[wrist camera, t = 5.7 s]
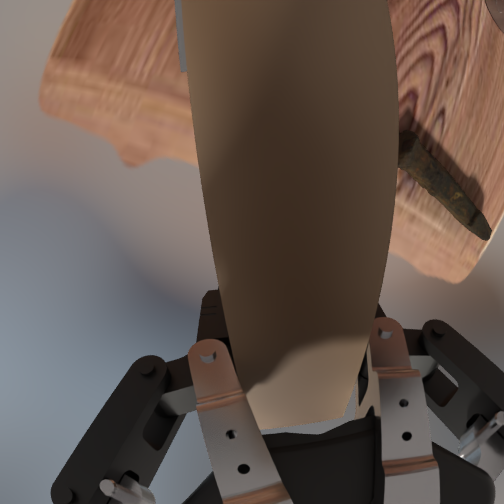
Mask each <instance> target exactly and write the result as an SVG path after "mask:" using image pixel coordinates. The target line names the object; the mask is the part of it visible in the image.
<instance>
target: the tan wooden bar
mask: <svg viewBox="0 0 504 504" xmlns="http://www.w3.org/2000/svg"><path fill="white" fill-rule="evenodd" d="M181 5H182V19H183V32H184V44H185V55H186V65H187V75H188V84H189V93H190V102H191V111H192V119H193V127H194V135H195V142H196V150H197V157H198V164H199V171H200V178H201V184H202V191H203V197H204V204H205V210H206V216H207V222H208V228H209V234H210V240H211V246H212V252H213V257H214V263H215V268H216V274H217V279H218V284H219V290H220V295H221V300H222V305H223V310H224V315H225V320H226V325H227V330H228V335H229V340H230V344H231V349H232V354H233V358H234V363H235V367H236V372H237V376H238V380H239V383H240V385H241V388H242V390H243V392H244V393H245V395H246V397H247V399H248V402H249V405H250V407H251V410H252V412H253V415H254V417H255V420H256V422H257V425H258V427H259V430H261V429H271V428H279V427H289V426H296V425H303V424H309V423H315V422H321V421H326V420H331V419H336V418H341V417H343V415H344V413H345V410H346V407H347V405H348V402H349V399H350V396H351V393H352V391H353V388H354V385H355V382H356V380H357V377H358V374H359V370H360V367H361V364H362V361H363V358H364V354H365V351H366V348H367V344H368V341H369V337H370V333H371V330H372V326H373V322H374V318H375V314H376V310H377V306H378V301H379V297H380V292H381V287H382V283H383V277H384V272H385V267H386V262H387V256H388V250H389V244H390V237H391V230H392V222H393V214H394V205H395V195H396V184H397V169H398V147H399V102H398V81H397V68H396V57H395V48H394V40H393V32H392V26H391V20H390V14H389V8H388V3H387V0H181Z"/></svg>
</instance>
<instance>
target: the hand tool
mask: <svg viewBox="0 0 504 504" xmlns="http://www.w3.org/2000/svg"><path fill="white" fill-rule="evenodd" d="M398 168H400V169H401V170H405V171H407V172H408V174H409V175H410V176H412V177H413V179H414V180H415V181H417V182H418V183H419V184H420V185H421V186H422V187H423V188H425V189H426V190H427V191H428V193H429V194H430V195H432V196H434V197H435V198H436V199H437V200H438V201H439V202H440V203H441V204H443V205H444V207H445V208H446V209H447V210H448V211H449V212H450V213H451V214H452V215H453V216H454V217H455V218H456V219H457V220H458V221H459V222H460V223H461V224H462V225H464V226H465V227H466V228H467V229H468V230H469V231H471V232H472V233H474V234H475V235H477V236H478V237H479V238H481V239H482V240H485V241H486V240H489V239H490V235H491V232H492V230H491V228H490V226H489V224H488V222H487V220H486V218H485V216H484V215H483V214H482V212H481V211H479V210H478V209H477V208H476V207H475V205H474V204H473V203H472V202H471V200H470V199H469V198H468V197H467V196H466V194H465V192H464V191H463V190H462V189H461V187H460V186H459V185H458V183H457V182H456V181H455V180H454V179H453V178H452V176H451V175H450V174H449V173H448V172H447V171H446V170H445V168H444V167H443V166H442V165H441V164H440V163H439V162H438V161H437V160H436V159H435V158H434V157H433V156H432V155H431V154H430V153H429V152H428V151H427V150H426V149H425V148H424V147H423V146H422V144H421V143H420V142H419V138H418V136H417V135H416V134H415V133H414V132H412V131H407V130H405V131H403V132H402V133H399V147H398Z"/></svg>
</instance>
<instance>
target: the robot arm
mask: <svg viewBox="0 0 504 504" xmlns="http://www.w3.org/2000/svg"><path fill="white" fill-rule="evenodd" d="M485 1H486V4H487V7H488V9H489V11H490V13H491V15H492V17H493V19H494V20H495V22H496V24H497V25H498V27H499V28H500V29H501V31H502V32H503V33H504V0H485ZM439 365H441V366H442V367H443V368H444V369H445V370H446V371H447V372H448V373H449V374H450V375H451V376H452V377H453V378H454V379H455V380H456V381H457V382H458V386H459V387H457V386H456V385H455V384H453V383H452V382H451V381H450V380H449V379H448V378H447V377H446V376H445V375H444V374H443V373H442V372H441V371H440V370H439V369H438V366H439ZM355 385H356V413H355V418H354V420H352V421H349V422H347V423H345V424H343V425H341V426H338V427H336V428H334V429H332V430H330V431H327V432H325V433H323V434H319V435H316V434H299V433H287V432H285V433H277V434H266V435H262V434H261V432H260V430H259V427H258V425H257V422H256V420H255V417H254V415H253V412H252V410H251V407H250V405H249V402H248V399H247V397H246V395H245V393H244V392H243V390H242V388H241V385H240V383H239V380H238V376H237V372H236V367H235V363H234V358H233V354H232V349H231V344H230V340H229V335H228V330H227V325H226V320H225V315H224V310H223V305H222V300H221V295H220V290H219V287H218V290H210V291H208V292H207V293H206V294H205V296H204V297H203V299H202V305H201V312H200V319H199V326H198V334H197V341H196V343H195V344H194V345H193V346H192V347H191V348H190V350H189V352H188V354H187V355H186V356H184V357H182V358H179V359H177V360H173V361H169V362H166V363H165V361H164V360H163V359H162V358H160V357H158V356H154V355H148V356H144V357H141V358H139V359H138V360H136V361H135V362H134V363H133V364H132V366H131V367H130V369H129V370H128V372H127V373H126V374H125V376H124V377H123V379H122V380H121V381H120V383H119V384H118V386H117V387H116V389H115V390H114V392H113V393H112V394H111V396H110V397H109V399H108V400H107V402H106V403H105V405H104V406H103V408H102V409H101V411H100V412H99V414H98V415H97V417H96V418H95V420H94V421H93V423H92V424H91V426H90V427H89V429H88V430H87V432H86V433H85V435H84V436H83V438H82V439H81V441H80V442H79V444H78V445H77V447H76V448H75V450H74V452H73V453H72V455H71V456H70V458H69V459H68V461H67V462H66V464H65V466H64V467H63V469H62V470H61V472H60V474H59V475H58V477H57V478H56V480H55V482H54V483H53V485H52V488H51V498H52V502H53V504H155V503H156V502H155V497H154V495H153V493H152V492H151V490H150V489H148V487H149V486H150V484H151V482H152V480H153V478H154V476H155V474H156V472H157V470H158V468H159V466H160V464H161V462H162V461H163V459H164V457H165V455H166V453H167V451H168V449H169V447H170V445H171V443H172V441H173V439H174V437H175V435H176V433H177V431H178V429H179V427H180V425H181V423H182V422H183V420H184V418H185V416H186V414H187V413H188V412H192V411H195V410H197V413H198V417H199V421H200V425H201V429H202V433H203V437H204V440H205V444H206V448H207V452H208V455H209V459H210V462H211V465H212V469H213V471H212V472H211V474H210V475H209V476H208V477H207V478H206V479H205V480H204V481H203V482H202V483H201V484H200V486H199V487H198V488H197V489H196V490H195V491H194V492H193V493H192V494H191V495H190V496H189V497H188V498H187V499H186V500H185V501H184V502H183V503H182V504H494V500H495V486H494V481H495V480H496V478H497V477H498V476H499V475H500V473H501V472H502V470H503V469H504V373H503V371H501V370H500V369H499V368H498V367H497V366H496V365H495V364H494V363H493V362H491V361H490V360H489V359H488V358H487V357H486V356H485V355H484V354H483V353H481V352H480V351H479V350H478V349H477V348H476V347H474V346H473V345H472V344H471V343H470V342H468V341H467V340H466V339H465V338H464V337H463V336H462V335H460V334H459V333H458V332H457V331H456V330H454V329H453V328H452V327H451V326H449V325H448V324H447V323H445V322H443V321H441V320H429V321H427V322H426V323H425V324H424V326H423V328H422V330H415V329H403V328H402V326H401V325H400V324H399V323H398V322H397V321H396V320H394V319H392V318H387V317H386V315H385V313H384V312H383V310H382V308H381V307H380V305H379V303H378V306H377V310H376V314H375V318H374V322H373V326H372V330H371V333H370V337H369V341H368V344H367V348H366V351H365V354H364V358H363V361H362V364H361V367H360V370H359V374H358V377H357V380H356V382H355ZM427 406H428V407H429V408H430V409H431V410H432V411H433V412H434V413H435V415H436V416H437V417H438V418H439V419H440V420H441V421H442V422H443V423H444V424H445V425H446V426H447V427H448V428H449V430H450V431H451V432H452V433H453V434H454V435H455V436H456V437H457V438H458V439H459V448H458V455H459V456H460V457H459V456H457V455H455V454H453V453H451V452H450V451H448V450H446V449H444V448H443V447H441V446H439V445H437V444H436V443H434V442H432V441H431V435H430V434H431V433H430V425H429V418H428V411H427ZM461 457H464V458H465V460H464V459H462V458H461Z"/></svg>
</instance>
